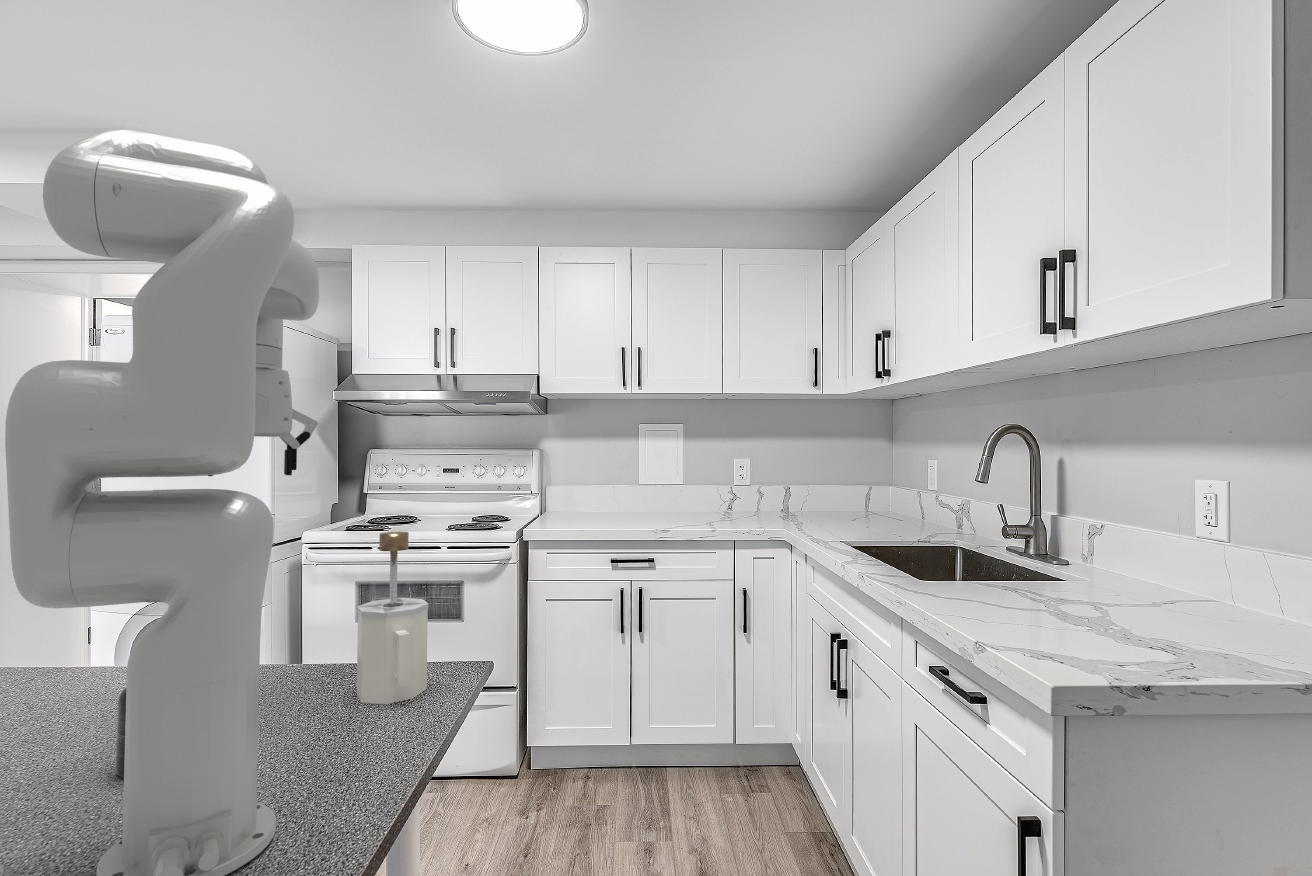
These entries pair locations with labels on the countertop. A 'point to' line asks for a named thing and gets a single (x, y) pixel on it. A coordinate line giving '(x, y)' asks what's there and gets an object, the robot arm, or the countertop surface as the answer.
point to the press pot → (392, 650)
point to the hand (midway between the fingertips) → (250, 475)
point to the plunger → (393, 557)
